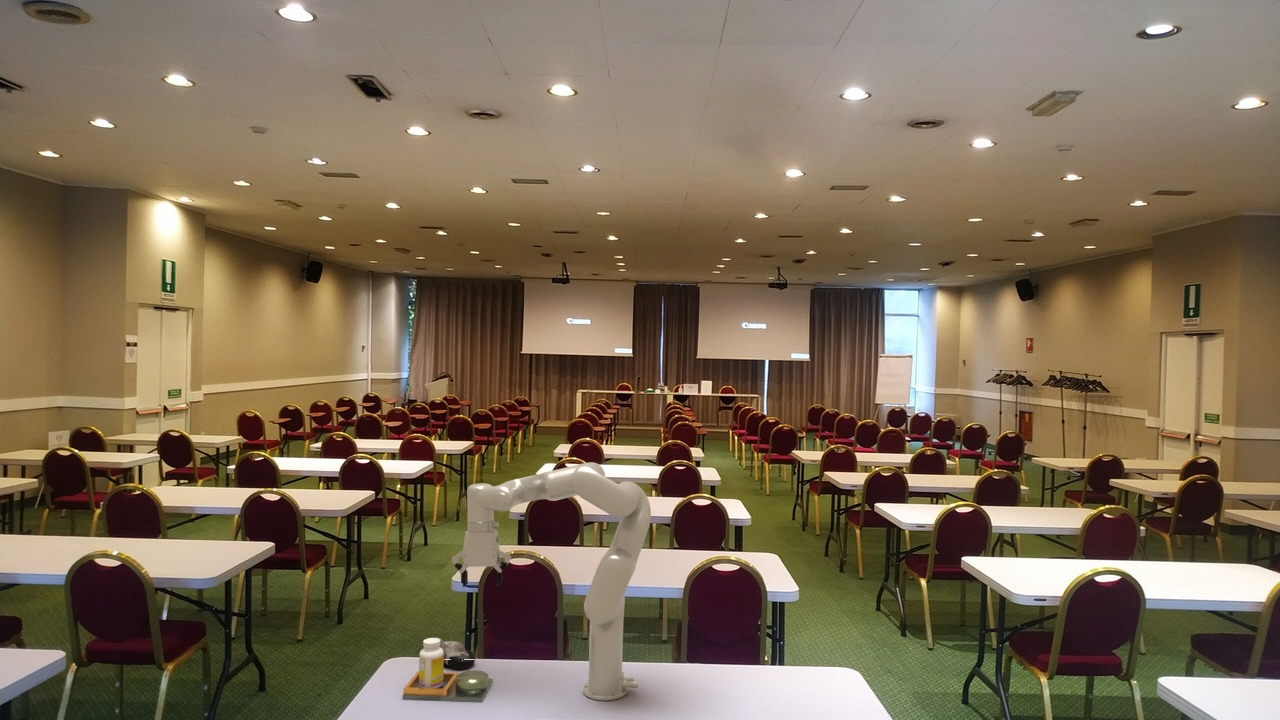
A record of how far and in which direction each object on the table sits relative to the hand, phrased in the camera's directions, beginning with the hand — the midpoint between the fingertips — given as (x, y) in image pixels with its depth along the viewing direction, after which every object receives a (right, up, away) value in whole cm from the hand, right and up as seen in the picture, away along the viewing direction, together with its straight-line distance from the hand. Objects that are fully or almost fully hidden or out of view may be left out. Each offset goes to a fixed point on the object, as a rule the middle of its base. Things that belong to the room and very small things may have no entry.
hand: (481, 585), depth 224 cm
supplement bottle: (-13, -27, -6) cm, 30 cm away
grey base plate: (-8, -28, -7) cm, 30 cm away
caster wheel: (-10, -28, +12) cm, 33 cm away
